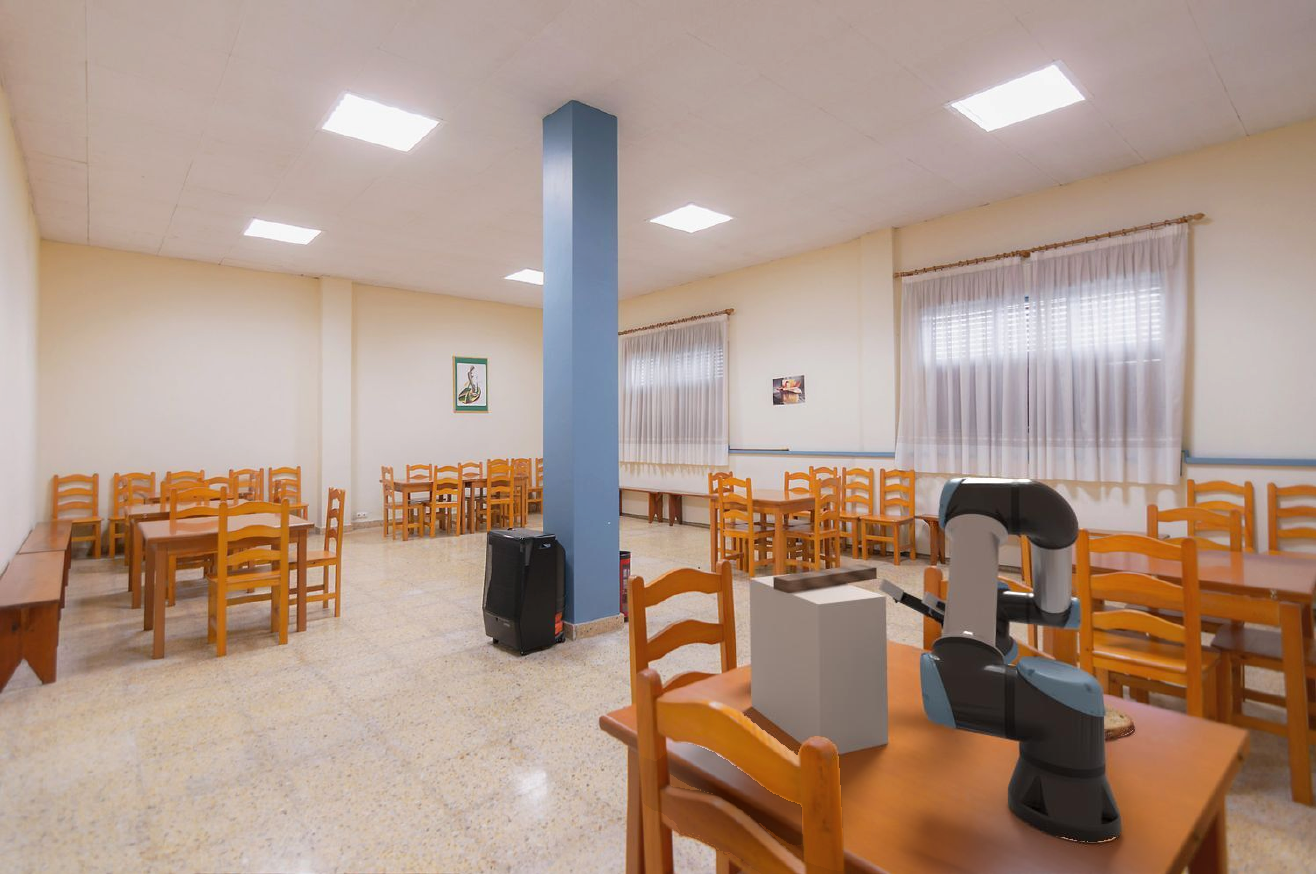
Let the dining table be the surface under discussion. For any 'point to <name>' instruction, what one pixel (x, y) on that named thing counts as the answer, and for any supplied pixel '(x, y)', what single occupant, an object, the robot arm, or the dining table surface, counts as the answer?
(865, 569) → the cover slat
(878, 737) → the tall box
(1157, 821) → the dining table surface
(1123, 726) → the slice of bread
